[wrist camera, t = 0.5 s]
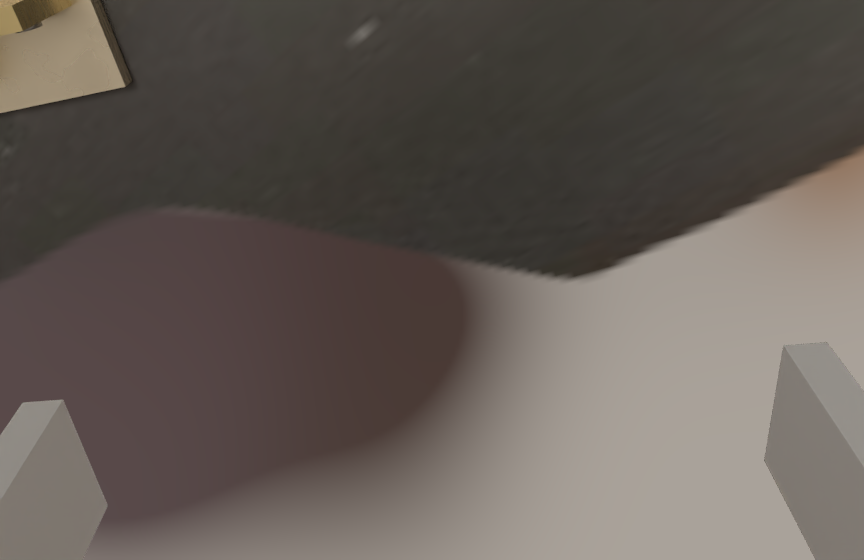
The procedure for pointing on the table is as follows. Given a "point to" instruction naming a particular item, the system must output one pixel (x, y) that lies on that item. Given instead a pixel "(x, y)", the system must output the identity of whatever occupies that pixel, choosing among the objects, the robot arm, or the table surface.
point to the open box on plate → (56, 52)
